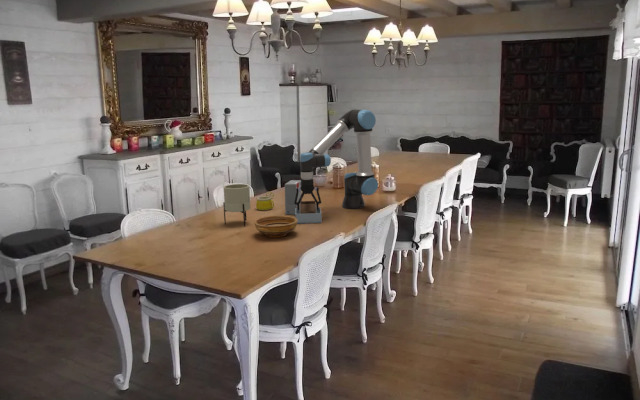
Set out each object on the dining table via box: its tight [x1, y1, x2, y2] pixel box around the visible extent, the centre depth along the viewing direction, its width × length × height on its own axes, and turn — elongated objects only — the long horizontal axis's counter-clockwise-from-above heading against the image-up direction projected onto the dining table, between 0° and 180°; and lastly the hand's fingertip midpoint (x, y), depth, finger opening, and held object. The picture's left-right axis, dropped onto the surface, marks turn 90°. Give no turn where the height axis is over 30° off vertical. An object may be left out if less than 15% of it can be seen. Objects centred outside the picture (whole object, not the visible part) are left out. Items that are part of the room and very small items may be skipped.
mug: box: [255, 191, 275, 211], centre depth 358 cm, size 13×11×12 cm
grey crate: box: [294, 206, 323, 225], centre depth 327 cm, size 16×16×6 cm
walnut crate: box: [300, 200, 316, 214], centre depth 326 cm, size 9×9×8 cm
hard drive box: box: [284, 179, 303, 216], centre depth 347 cm, size 16×8×20 cm, turn 168°
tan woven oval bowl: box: [253, 215, 298, 238], centre depth 297 cm, size 30×24×8 cm
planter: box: [223, 183, 251, 227], centre depth 321 cm, size 15×16×23 cm
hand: (308, 215), depth 327 cm, fingers closed on walnut crate, 9 cm apart
